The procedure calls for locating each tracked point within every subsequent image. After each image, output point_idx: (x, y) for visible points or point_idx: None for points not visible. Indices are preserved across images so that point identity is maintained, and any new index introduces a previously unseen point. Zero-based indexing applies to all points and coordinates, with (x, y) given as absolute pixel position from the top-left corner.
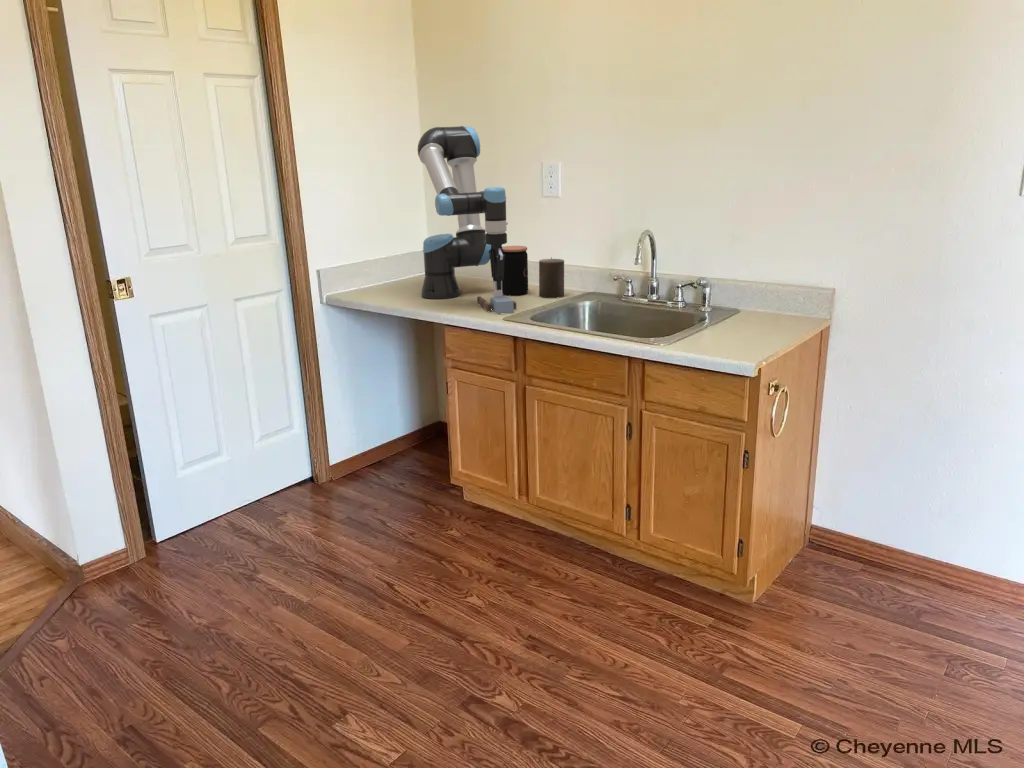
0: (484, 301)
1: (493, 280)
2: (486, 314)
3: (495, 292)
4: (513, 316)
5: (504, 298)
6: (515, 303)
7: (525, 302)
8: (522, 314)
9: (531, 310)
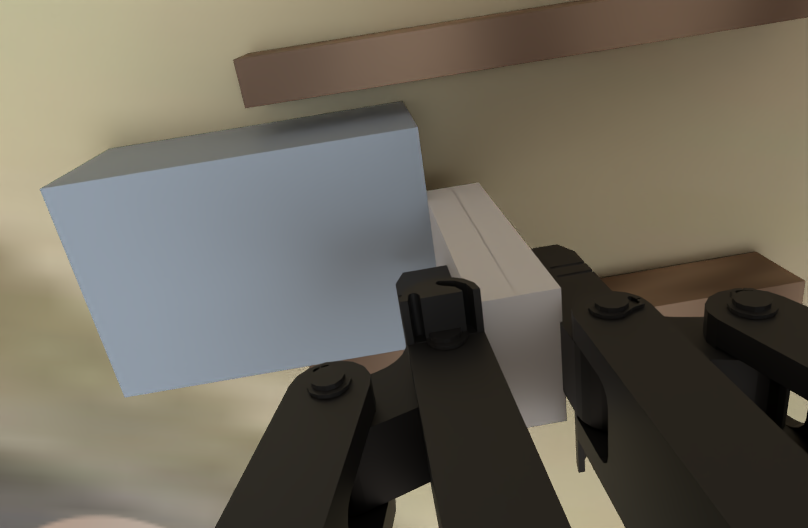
0: (491, 35)
1: (434, 287)
2: (122, 15)
3: (436, 227)
4: (2, 304)
5: (288, 308)
6: None
7: None
8: (94, 389)
9: None
